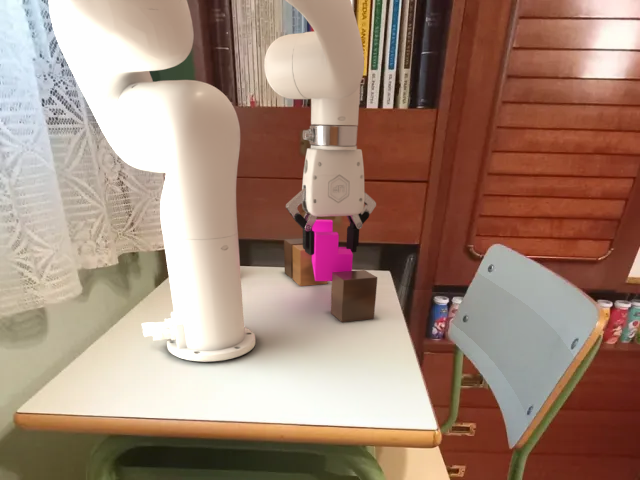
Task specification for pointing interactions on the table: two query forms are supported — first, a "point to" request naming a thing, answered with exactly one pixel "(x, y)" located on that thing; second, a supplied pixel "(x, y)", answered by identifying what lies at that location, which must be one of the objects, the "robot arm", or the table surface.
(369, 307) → the line block
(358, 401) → the table surface
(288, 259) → the line block
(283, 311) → the table surface
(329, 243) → the toy block
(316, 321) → the table surface
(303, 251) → the block
